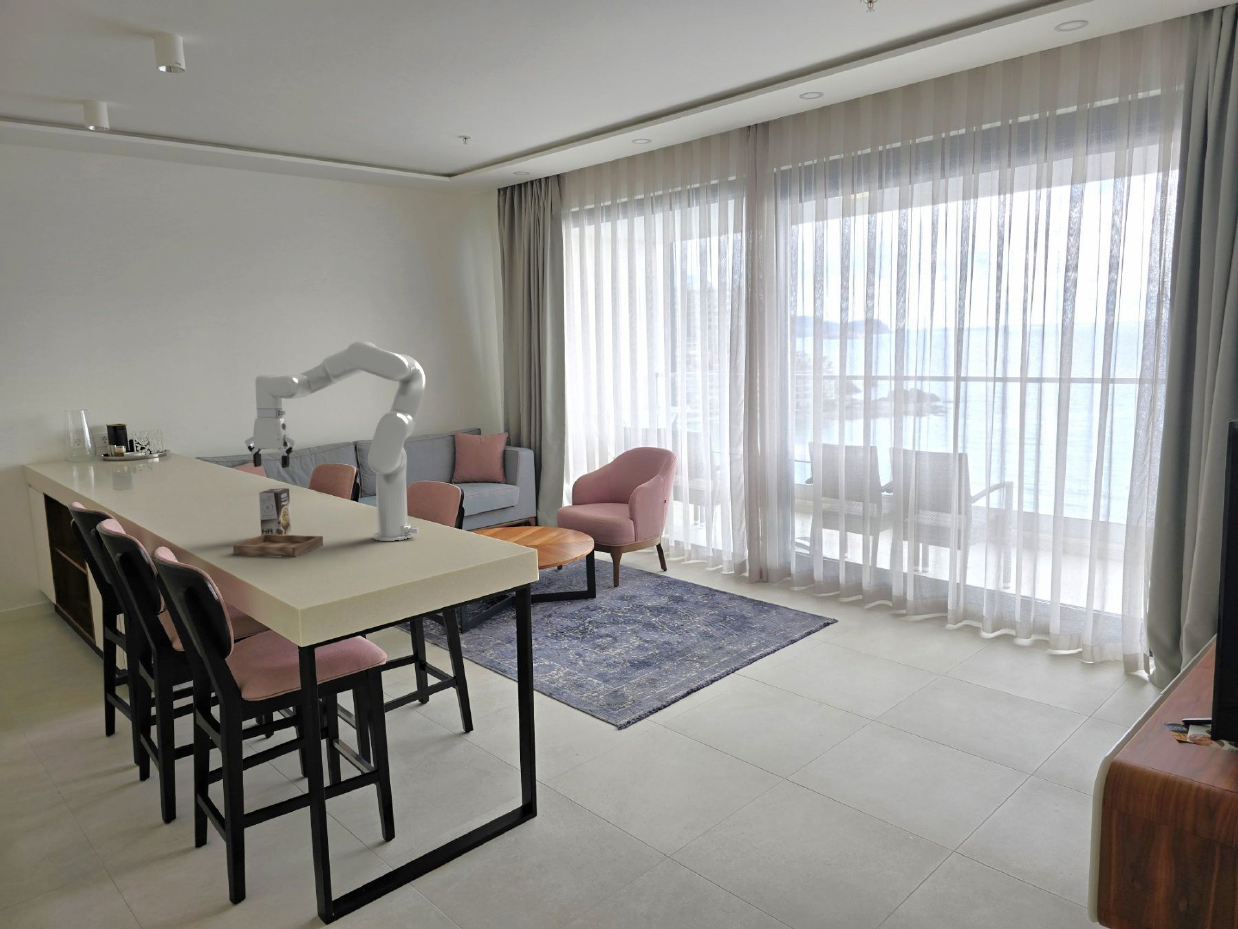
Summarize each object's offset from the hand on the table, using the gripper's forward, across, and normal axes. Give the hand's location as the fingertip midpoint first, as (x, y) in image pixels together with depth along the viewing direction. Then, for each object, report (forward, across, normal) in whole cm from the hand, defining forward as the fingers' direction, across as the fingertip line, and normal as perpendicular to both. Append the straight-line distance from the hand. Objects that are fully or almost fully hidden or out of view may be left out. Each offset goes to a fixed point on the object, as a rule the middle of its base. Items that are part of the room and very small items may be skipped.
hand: (271, 466), depth 263 cm
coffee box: (+24, -1, 0) cm, 24 cm away
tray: (+24, -11, +15) cm, 30 cm away
